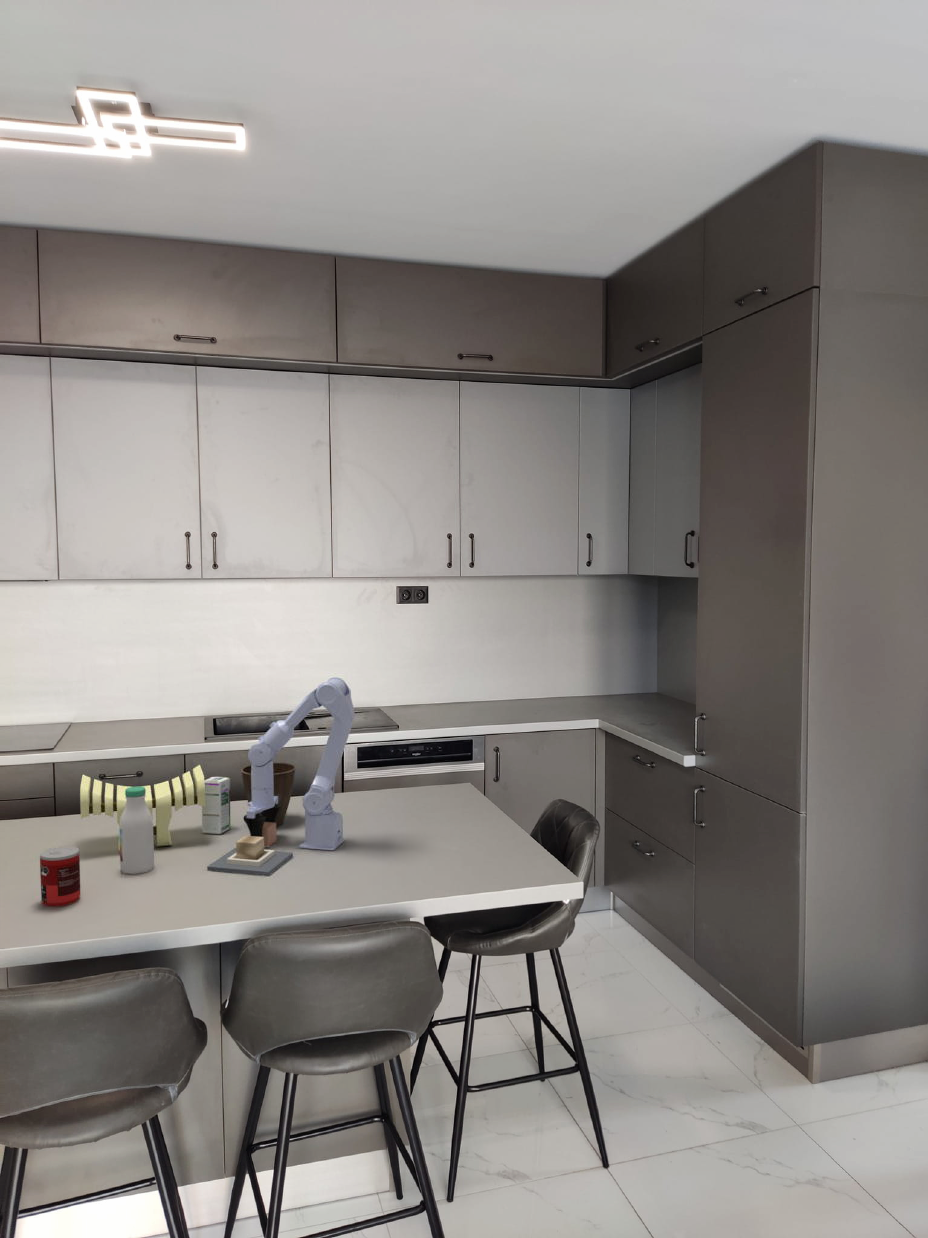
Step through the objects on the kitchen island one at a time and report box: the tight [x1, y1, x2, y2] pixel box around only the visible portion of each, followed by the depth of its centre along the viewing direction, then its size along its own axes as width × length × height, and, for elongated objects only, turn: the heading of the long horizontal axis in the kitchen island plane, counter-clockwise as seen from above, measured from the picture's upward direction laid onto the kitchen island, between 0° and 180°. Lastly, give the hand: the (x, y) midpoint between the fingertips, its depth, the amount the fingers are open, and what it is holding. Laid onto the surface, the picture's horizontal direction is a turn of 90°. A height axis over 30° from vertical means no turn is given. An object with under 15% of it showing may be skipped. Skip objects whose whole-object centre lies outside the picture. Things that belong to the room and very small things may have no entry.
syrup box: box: [201, 776, 231, 835], centre depth 241 cm, size 6×6×14 cm
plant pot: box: [241, 762, 296, 827], centre depth 248 cm, size 15×15×16 cm
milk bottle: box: [118, 785, 155, 875], centre depth 211 cm, size 8×8×20 cm
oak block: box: [235, 835, 265, 860], centre depth 216 cm, size 5×5×5 cm
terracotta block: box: [249, 822, 277, 847], centre depth 231 cm, size 5×5×5 cm
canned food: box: [39, 845, 81, 908], centre depth 192 cm, size 8×8×11 cm
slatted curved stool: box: [79, 764, 205, 852], centre depth 232 cm, size 30×16×18 cm, turn 111°
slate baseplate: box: [206, 847, 294, 877], centre depth 216 cm, size 16×14×2 cm
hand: (263, 837), depth 232 cm, fingers open, 7 cm apart
